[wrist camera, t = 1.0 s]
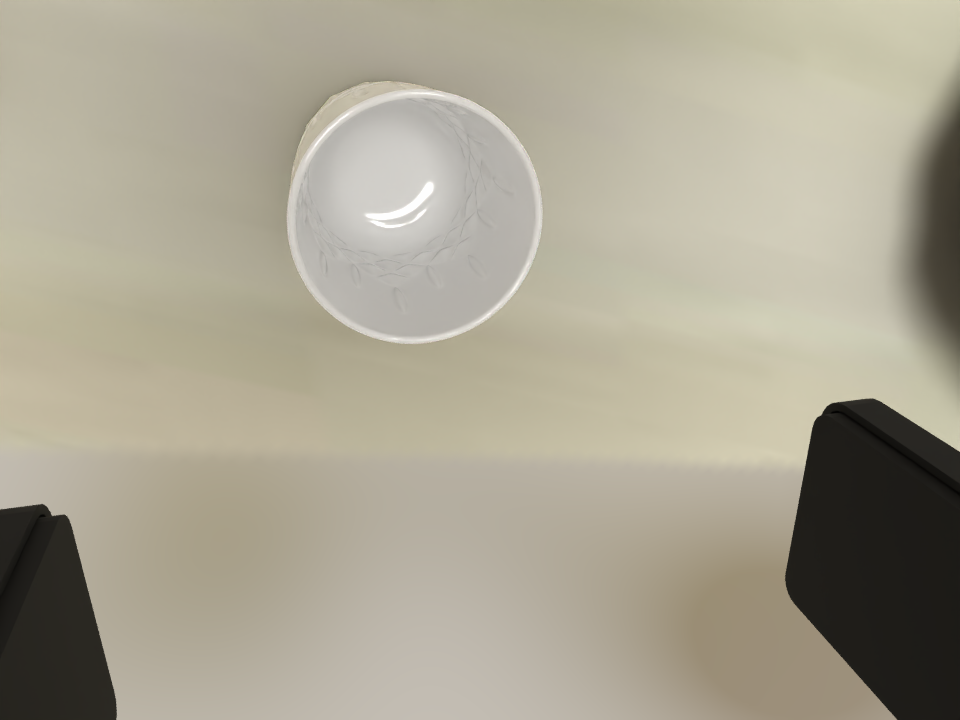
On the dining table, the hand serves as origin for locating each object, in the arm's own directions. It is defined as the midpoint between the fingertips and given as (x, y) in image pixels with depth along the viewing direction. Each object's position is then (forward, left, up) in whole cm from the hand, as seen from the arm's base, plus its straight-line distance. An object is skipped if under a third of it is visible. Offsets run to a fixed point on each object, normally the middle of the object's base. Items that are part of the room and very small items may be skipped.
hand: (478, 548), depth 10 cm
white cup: (0, +2, -26) cm, 26 cm away
